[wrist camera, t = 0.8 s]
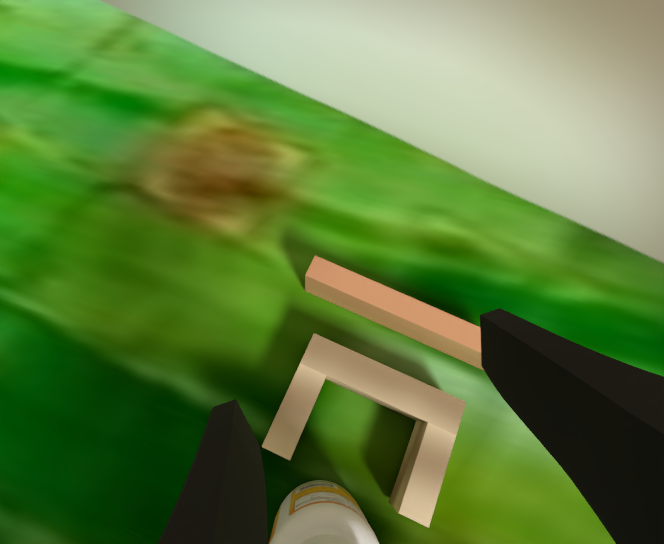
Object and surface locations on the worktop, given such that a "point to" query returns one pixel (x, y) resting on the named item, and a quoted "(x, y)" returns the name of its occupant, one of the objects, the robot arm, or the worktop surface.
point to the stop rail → (395, 310)
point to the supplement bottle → (321, 517)
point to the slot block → (390, 391)
